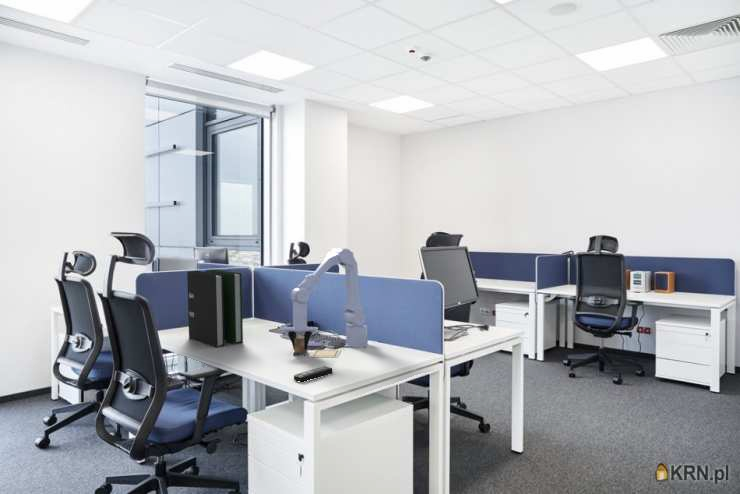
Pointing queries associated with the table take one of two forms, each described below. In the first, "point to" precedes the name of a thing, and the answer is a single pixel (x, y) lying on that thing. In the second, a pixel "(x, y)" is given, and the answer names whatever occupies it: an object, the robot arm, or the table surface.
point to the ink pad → (315, 346)
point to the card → (325, 353)
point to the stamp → (300, 346)
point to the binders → (215, 307)
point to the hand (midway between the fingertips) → (300, 349)
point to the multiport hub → (313, 374)
